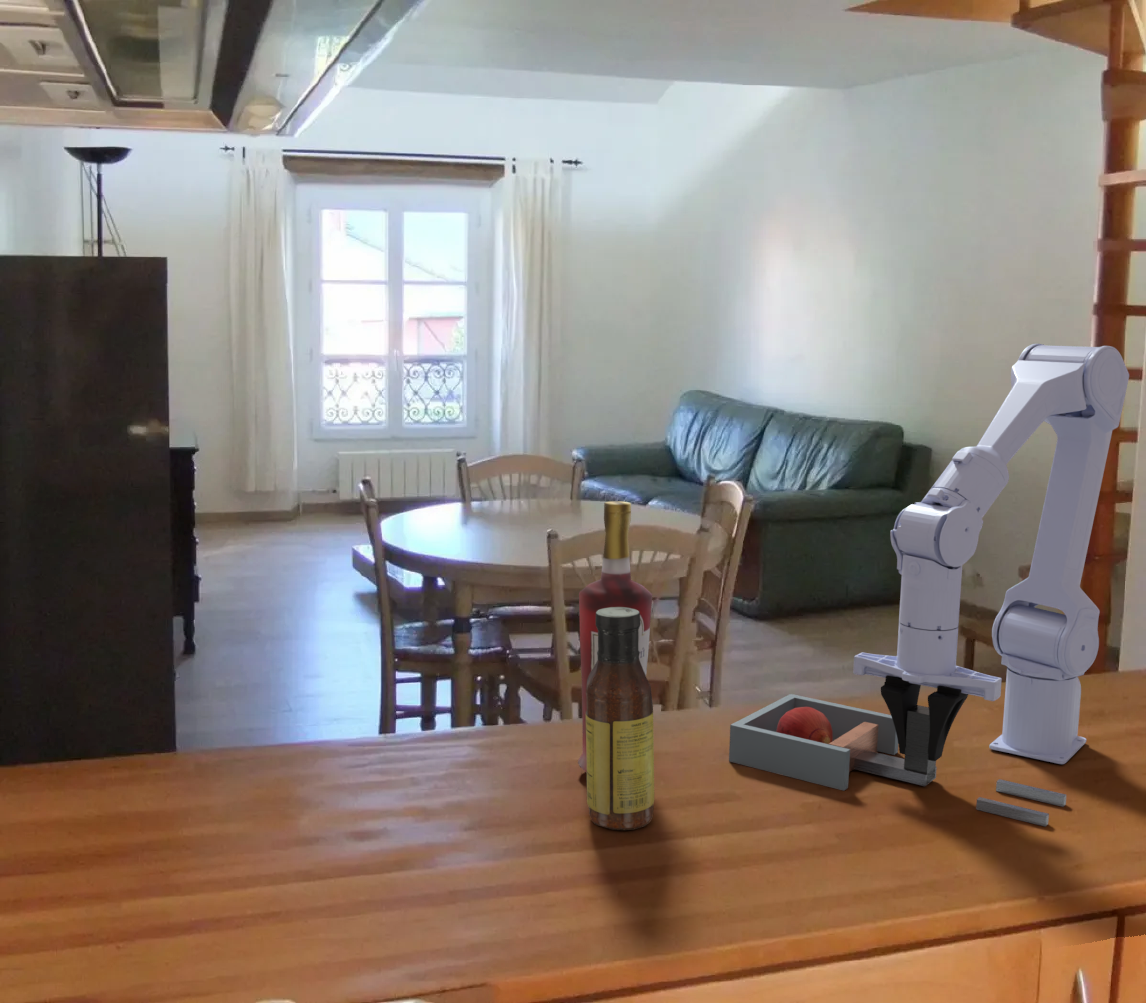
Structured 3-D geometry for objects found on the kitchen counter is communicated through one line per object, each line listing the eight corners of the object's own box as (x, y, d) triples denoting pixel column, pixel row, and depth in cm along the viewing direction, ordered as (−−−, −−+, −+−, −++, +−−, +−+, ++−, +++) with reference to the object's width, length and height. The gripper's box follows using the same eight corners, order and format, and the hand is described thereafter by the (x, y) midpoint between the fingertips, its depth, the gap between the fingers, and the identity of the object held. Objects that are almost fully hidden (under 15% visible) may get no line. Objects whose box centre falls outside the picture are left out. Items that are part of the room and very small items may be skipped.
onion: (796, 729, 126) (752, 713, 133) (811, 780, 127) (766, 761, 134) (840, 705, 128) (794, 691, 135) (854, 755, 129) (808, 738, 136)
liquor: (631, 759, 131) (638, 497, 127) (658, 784, 124) (666, 507, 120) (566, 765, 128) (570, 499, 124) (589, 791, 122) (595, 510, 117)
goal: (788, 727, 142) (790, 693, 141) (897, 752, 134) (899, 717, 134) (728, 761, 131) (730, 724, 130) (843, 790, 123) (845, 752, 122)
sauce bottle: (661, 812, 117) (667, 607, 114) (643, 838, 111) (649, 622, 108) (595, 802, 119) (599, 600, 116) (574, 827, 113) (578, 615, 110)
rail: (998, 788, 124) (999, 779, 124) (1065, 804, 120) (1066, 794, 120) (976, 809, 119) (976, 799, 119) (1045, 826, 115) (1046, 816, 115)
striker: (862, 750, 134) (866, 684, 133) (946, 769, 128) (950, 701, 127) (827, 773, 127) (830, 705, 126) (914, 795, 121) (918, 723, 120)
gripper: (843, 619, 124) (837, 749, 126) (988, 644, 116) (978, 782, 118) (871, 607, 130) (865, 731, 132) (1011, 629, 121) (1002, 762, 123)
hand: (920, 754), depth 125 cm, fingers closed on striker, 2 cm apart
